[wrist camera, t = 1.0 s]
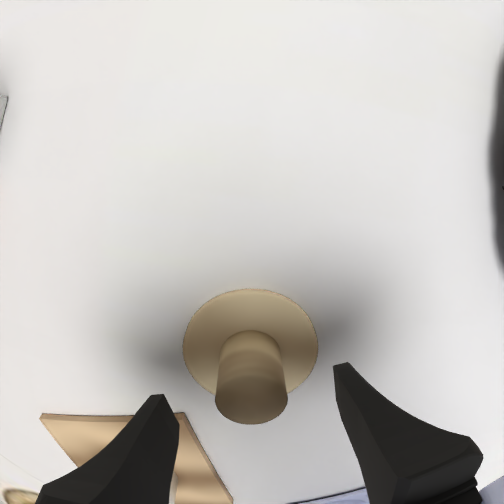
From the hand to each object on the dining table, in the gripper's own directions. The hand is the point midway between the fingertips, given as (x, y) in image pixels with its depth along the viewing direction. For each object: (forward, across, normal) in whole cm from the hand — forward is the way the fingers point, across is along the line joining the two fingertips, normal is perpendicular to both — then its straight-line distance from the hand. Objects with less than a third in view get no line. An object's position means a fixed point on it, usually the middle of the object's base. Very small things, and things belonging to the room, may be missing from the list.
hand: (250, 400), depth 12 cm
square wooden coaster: (+4, +11, +10) cm, 15 cm away
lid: (+4, 0, 0) cm, 4 cm away
